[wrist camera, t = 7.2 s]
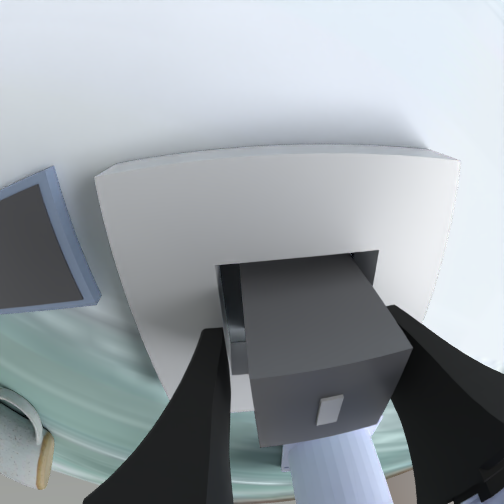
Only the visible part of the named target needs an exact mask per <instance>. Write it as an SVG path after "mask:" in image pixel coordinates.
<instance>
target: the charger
mask: <svg viewBox="0 0 504 504" xmlns="http://www.w3.org/2000/svg"><path fill="white" fill-rule="evenodd" d="M239 266H240V278H241V290H242V302H243V313H244V325H245V336H246V347H247V358H248V368H249V379H250V386H251V392H252V399H253V406H254V412H255V419H256V425H257V432H258V438H259V444H260V448H261V447H270V446H278V445H285V444H292V443H298V442H304V441H309V440H315V439H320V438H325V437H329V436H334V435H338V434H342V433H347V432H351V431H354V430H358V429H362V428H366V427H369V426H372V425H376V424H377V423H378V421H379V419H380V417H381V415H382V414H383V412H384V410H385V408H386V406H387V404H388V402H389V400H390V398H391V396H392V394H393V392H394V390H395V388H396V386H397V384H398V381H399V379H400V377H401V375H402V373H403V370H404V368H405V366H406V363H407V361H408V359H409V356H410V354H411V351H412V349H413V347H412V345H411V344H410V342H409V341H408V339H407V337H406V336H405V334H404V333H403V331H402V330H401V328H400V327H399V325H398V323H397V322H396V320H395V319H394V317H393V316H392V314H391V313H390V311H389V310H388V308H387V307H386V305H385V304H384V302H383V301H382V300H381V298H380V297H379V295H378V294H377V292H376V291H375V289H374V288H373V287H372V285H371V284H370V282H369V281H368V279H367V278H366V277H365V275H364V274H363V272H362V271H361V270H360V268H359V267H358V266H357V264H356V263H355V261H354V260H353V259H352V257H351V256H350V255H349V253H343V254H332V255H322V256H312V257H301V258H290V259H280V260H269V261H258V262H246V263H239Z"/></svg>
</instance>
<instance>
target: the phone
mask: <svg viewBox="0 0 504 504" xmlns="http://www.w3.org/2000/svg"><path fill="white" fill-rule="evenodd" d="M100 297H101V293H100V291H99V289H98V287H97V284H96V282H95V280H94V278H93V276H92V273H91V271H90V269H89V266H88V264H87V262H86V259H85V257H84V254H83V252H82V249H81V247H80V244H79V242H78V239H77V236H76V234H75V231H74V228H73V225H72V223H71V220H70V217H69V214H68V211H67V208H66V205H65V202H64V199H63V196H62V192H61V189H60V186H59V182H58V179H57V175H56V172H55V168H54V166H52V167H50V168H47V169H45V170H42V171H40V172H38V173H35V174H33V175H31V176H29V177H26V178H24V179H22V180H20V181H18V182H16V183H14V184H11V185H9V186H7V187H5V188H3V189H1V190H0V314H10V313H21V312H33V311H43V310H53V309H63V308H73V307H82V306H91V305H97V303H98V301H99V299H100Z"/></svg>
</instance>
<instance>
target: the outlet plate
mask: <svg viewBox="0 0 504 504" xmlns="http://www.w3.org/2000/svg"><path fill="white" fill-rule="evenodd" d="M460 165H461V161H460V160H457V159H455V158H452V157H449V156H447V155H444V154H441V153H438V152H435V151H432V150H429V149H419V148H408V147H395V146H379V145H355V144H290V145H266V146H249V147H235V148H223V149H213V150H203V151H194V152H186V153H178V154H171V155H164V156H157V157H151V158H144V159H138V160H133V161H127V162H122V163H117V164H115V165H113V166H111V167H110V168H108V169H106V170H105V171H103V172H102V173H100V174H98V175H97V176H95V177H94V181H95V186H96V190H97V195H98V200H99V204H100V208H101V213H102V217H103V221H104V225H105V229H106V233H107V236H108V240H109V244H110V247H111V251H112V254H113V258H114V261H115V264H116V268H117V271H118V274H119V277H120V280H121V283H122V286H123V289H124V292H125V295H126V298H127V301H128V304H129V306H130V309H131V312H132V315H133V317H134V320H135V323H136V325H137V328H138V330H139V333H140V335H141V338H142V340H143V343H144V345H145V348H146V350H147V352H148V355H149V357H150V359H151V362H152V364H153V366H154V369H155V371H156V373H157V375H158V377H159V380H160V382H161V384H162V386H163V388H164V390H165V392H166V394H167V396H168V398H169V400H171V398H172V396H173V394H174V392H175V391H176V389H177V387H178V385H179V383H180V382H181V380H182V378H183V375H184V373H185V371H186V369H187V367H188V365H189V363H190V361H191V358H192V356H193V354H194V351H195V349H196V346H197V343H198V341H199V338H200V335H201V331H202V330H203V329H205V328H219V327H223V332H224V338H225V344H226V350H227V356H228V361H229V368H230V382H231V411H230V413H232V412H246V411H254V406H253V399H252V392H251V386H250V379H249V368H248V358H247V347H246V342H236V343H231V342H230V336H229V329H228V322H227V315H226V308H225V301H224V294H223V287H222V279H221V272H220V265H224V264H235V263H246V262H258V261H269V260H280V259H290V258H301V257H312V256H322V255H332V254H343V253H353V252H354V258H353V260H354V261H355V263H356V264H357V266H358V267H359V268H360V270H361V271H362V272H363V274H364V275H365V277H366V278H367V279H368V281H369V282H370V284H371V285H372V287H373V288H374V289H375V291H376V292H377V294H378V295H379V297H380V298H381V300H382V301H383V302H384V304H385V305H386V306H389V305H396V306H398V307H399V308H401V309H402V310H404V311H405V312H406V313H408V314H409V315H410V316H412V317H413V318H415V319H416V320H417V321H419V322H420V323H421V324H422V323H423V320H424V317H425V315H426V312H427V309H428V306H429V303H430V300H431V297H432V294H433V291H434V288H435V285H436V281H437V278H438V275H439V271H440V268H441V264H442V260H443V257H444V253H445V249H446V245H447V241H448V236H449V232H450V227H451V222H452V217H453V212H454V207H455V201H456V195H457V188H458V181H459V174H460Z"/></svg>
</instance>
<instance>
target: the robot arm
mask: <svg viewBox="0 0 504 504" xmlns="http://www.w3.org/2000/svg"><path fill="white" fill-rule="evenodd" d="M386 307H387V308H388V310H389V311H390V313H391V314H392V316H393V317H394V319H395V320H396V322H397V323H398V325H399V327H400V328H401V330H402V331H403V333H404V334H405V336H406V337H407V339H408V341H409V342H410V344H411V345H412V347H413V349H412V351H411V354H410V356H409V359H408V361H407V363H406V366H405V368H404V370H403V373H402V375H401V377H400V379H399V381H398V384H397V386H396V388H395V390H394V392H393V394H392V396H391V400H392V402H393V405H394V407H395V409H396V411H397V413H398V416H399V418H400V421H401V423H402V426H403V430H404V433H405V436H406V440H407V443H408V447H409V452H410V456H411V460H412V465H413V471H414V477H415V484H416V494H417V504H448V503H450V502H452V501H454V504H504V374H502V373H500V372H498V371H496V370H493V369H491V368H489V367H487V366H485V365H483V364H482V363H480V362H478V361H476V360H474V359H473V358H471V357H469V356H467V355H466V354H464V353H463V352H461V351H460V350H458V349H456V348H455V347H453V346H452V345H450V344H449V343H447V342H446V341H445V340H443V339H442V338H440V337H439V336H438V335H436V334H435V333H433V332H432V331H431V330H429V329H428V328H427V327H425V326H424V325H423V324H421V323H420V322H419V321H417V320H416V319H415V318H413V317H412V316H410V315H409V314H408V313H406V312H405V311H404V310H402V309H401V308H399V307H398V306H396V305H389V306H386ZM230 411H231V382H230V368H229V361H228V356H227V350H226V344H225V338H224V332H223V327H219V328H205V329H203V330H202V331H201V335H200V338H199V341H198V343H197V346H196V349H195V351H194V354H193V356H192V358H191V361H190V363H189V365H188V367H187V369H186V371H185V373H184V375H183V378H182V380H181V382H180V383H179V385H178V387H177V389H176V391H175V392H174V394H173V396H172V398H171V400H170V401H169V403H168V405H167V406H166V408H165V410H164V411H163V413H162V414H161V416H160V417H159V419H158V420H157V422H156V423H155V425H154V426H153V428H152V429H151V430H150V432H149V433H148V434H147V436H146V437H145V438H144V440H143V441H142V442H141V443H140V445H139V446H138V447H137V448H136V450H135V451H134V452H133V453H132V454H131V455H130V456H129V457H128V459H127V460H126V461H125V462H124V463H123V464H122V465H121V466H120V467H119V468H118V469H117V470H116V471H115V472H114V473H113V474H112V475H111V476H110V477H109V478H108V479H107V480H106V481H105V482H104V483H102V484H101V485H100V486H99V487H98V488H97V489H95V490H94V491H93V492H92V493H91V494H89V495H88V496H87V497H86V498H85V499H84V501H83V504H233V494H232V484H231V472H230V460H229V437H230ZM382 418H383V415H381V417H380V419H379V421H378V423H377V424H376V425H372V426H369V427H366V428H362V429H358V430H354V431H351V432H347V433H342V434H338V435H334V436H329V437H325V438H320V439H315V440H309V441H304V442H298V443H292V444H285V445H283V450H282V461H281V471H282V472H287V471H291V477H292V482H293V488H294V494H295V500H296V504H393V501H392V498H391V495H390V492H389V488H388V485H387V483H386V479H385V476H384V473H383V470H382V467H381V464H380V461H379V459H378V456H377V453H376V450H375V447H374V444H373V441H372V439H371V436H372V434H373V433H374V431H375V430H376V428H377V426H378V425H379V423H380V421H381V420H382Z"/></svg>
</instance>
